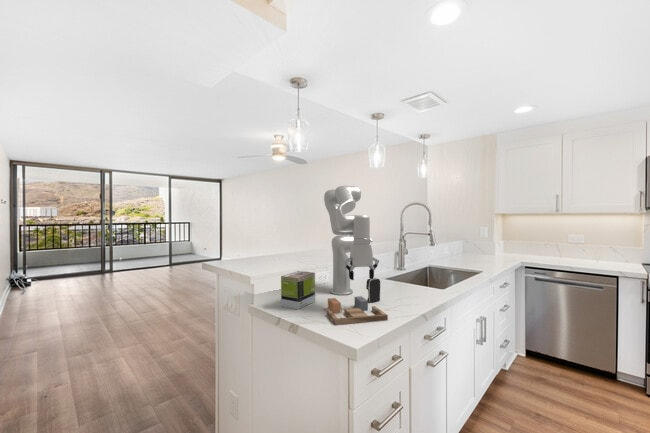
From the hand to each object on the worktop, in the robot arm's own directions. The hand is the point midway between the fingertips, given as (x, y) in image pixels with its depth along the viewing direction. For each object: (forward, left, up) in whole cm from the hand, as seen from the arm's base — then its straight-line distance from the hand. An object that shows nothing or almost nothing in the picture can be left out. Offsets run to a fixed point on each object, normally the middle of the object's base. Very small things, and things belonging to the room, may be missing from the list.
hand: (361, 279), depth 138 cm
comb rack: (+10, -6, -14) cm, 18 cm away
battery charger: (-10, +10, -14) cm, 20 cm away
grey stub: (-1, 0, -14) cm, 14 cm away
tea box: (-14, -27, -14) cm, 33 cm away
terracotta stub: (-1, -13, -14) cm, 19 cm away
